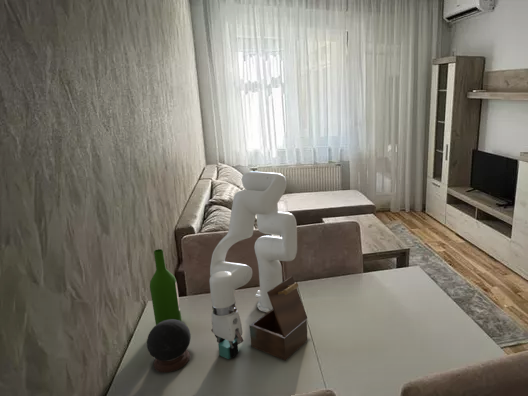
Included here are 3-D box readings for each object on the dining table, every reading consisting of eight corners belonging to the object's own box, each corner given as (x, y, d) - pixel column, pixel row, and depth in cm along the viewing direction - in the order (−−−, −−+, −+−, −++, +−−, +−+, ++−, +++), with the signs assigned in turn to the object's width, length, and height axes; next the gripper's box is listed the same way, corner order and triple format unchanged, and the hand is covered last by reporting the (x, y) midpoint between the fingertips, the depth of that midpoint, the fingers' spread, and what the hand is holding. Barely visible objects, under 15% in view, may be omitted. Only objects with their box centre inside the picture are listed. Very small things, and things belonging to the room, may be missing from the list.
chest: (251, 346, 138) (249, 325, 136) (274, 328, 149) (273, 308, 147) (285, 360, 131) (284, 338, 129) (307, 340, 142) (306, 319, 140)
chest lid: (266, 292, 128) (278, 290, 125) (291, 276, 138) (302, 274, 136) (283, 337, 129) (294, 336, 126) (305, 318, 140) (317, 317, 137)
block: (219, 355, 134) (218, 344, 132) (229, 347, 138) (228, 337, 136) (228, 359, 132) (227, 348, 130) (238, 351, 135) (237, 340, 134)
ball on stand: (147, 358, 132) (141, 320, 128) (188, 343, 140) (183, 307, 136) (154, 380, 122) (147, 340, 118) (197, 363, 129) (192, 325, 125)
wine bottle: (186, 327, 149) (175, 250, 140) (162, 337, 143) (149, 257, 134) (176, 318, 155) (166, 243, 146) (153, 327, 149) (140, 250, 140)
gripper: (250, 308, 129) (254, 354, 134) (215, 296, 137) (220, 340, 142) (233, 319, 123) (238, 367, 128) (197, 306, 130) (203, 351, 135)
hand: (228, 352), depth 134 cm, fingers closed on block, 4 cm apart
